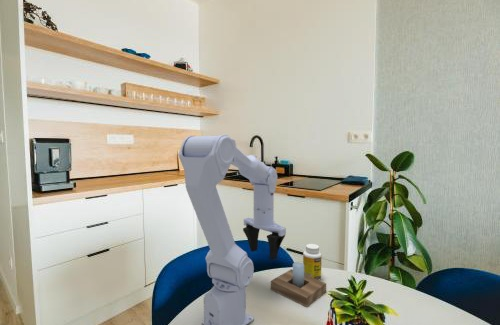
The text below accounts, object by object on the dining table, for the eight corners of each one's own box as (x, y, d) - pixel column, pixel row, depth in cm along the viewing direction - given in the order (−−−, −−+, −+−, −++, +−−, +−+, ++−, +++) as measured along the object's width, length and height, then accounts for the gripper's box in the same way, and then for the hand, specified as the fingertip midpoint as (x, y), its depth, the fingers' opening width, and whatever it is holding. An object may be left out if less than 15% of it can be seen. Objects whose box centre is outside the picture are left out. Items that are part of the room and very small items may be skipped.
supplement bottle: (314, 284, 76) (315, 251, 76) (299, 277, 80) (299, 245, 80) (324, 278, 80) (325, 246, 79) (309, 272, 84) (309, 241, 83)
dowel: (300, 293, 71) (300, 268, 70) (290, 288, 73) (290, 264, 73) (306, 288, 73) (306, 264, 73) (296, 284, 75) (296, 261, 75)
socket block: (306, 307, 65) (306, 297, 65) (270, 289, 74) (270, 280, 74) (326, 291, 72) (326, 283, 72) (291, 276, 81) (291, 269, 81)
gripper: (292, 209, 71) (292, 257, 72) (254, 202, 81) (254, 244, 82) (276, 214, 66) (276, 265, 67) (238, 205, 76) (238, 250, 77)
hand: (263, 254), depth 74 cm, fingers open, 7 cm apart
